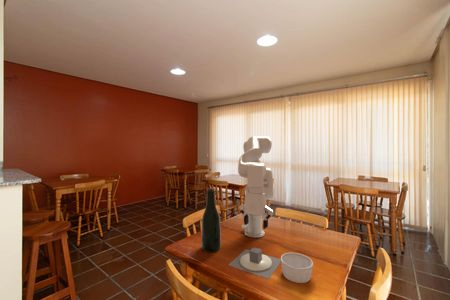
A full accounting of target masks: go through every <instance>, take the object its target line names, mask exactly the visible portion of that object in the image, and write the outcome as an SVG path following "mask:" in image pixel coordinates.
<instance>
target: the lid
mask: <svg viewBox="0 0 450 300" xmlns="http://www.w3.org/2000/svg"><path fill="white" fill-rule="evenodd" d="M266 255H267V254H263V249H261V248H258V247H255V246H254V247H252V248H251V249H250V253H248V254H245V255H243V256H242V257H241V258H240V264H241V265H242V266H243V267H244V268H245V269H248V270H251V271H265V270H267V269H269V268H270V267H271V266H272V261H271V259H270V258H269V257H268V256H269V255H268V256H266Z"/></svg>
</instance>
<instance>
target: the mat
mask: <svg viewBox="0 0 450 300" xmlns="http://www.w3.org/2000/svg"><path fill="white" fill-rule="evenodd" d="M250 250H251V249H250ZM250 250H249V249H244V250H243V251H242V252H241V253H240V254H238V256H236V257H235V258H234V259H233V260H232V261H231V262H230V263H228V266H229V267H233V268H235V269H238V270H241V271H244V272H247V273H249V274H250V273H251V274H252V275H255V276H259V277H261V278H265V279H267V280H269V279H271V276H272V275H273V274H274V272H275V271H276V270H277V269H278V267H279V265H281V258H278V257H274V256H270V255H267V254H265V255H266V256H268V257H269V258H270V259H271V261H272V266H271V267H270V268H269V269H267V270H265V271H251V270H248V269H245V268H244V267H243V266H242V265H241V264H240V258H241V257H242V256H243V255H245V254H248V253H250Z"/></svg>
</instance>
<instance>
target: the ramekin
mask: <svg viewBox="0 0 450 300" xmlns="http://www.w3.org/2000/svg"><path fill="white" fill-rule="evenodd" d="M280 259H281V262H280V265H281V272H282V275H283V276H284V278H286V279H287V280H288V281H291V282H294V283H297V284H306V283H308V282H309V281H310V280H311V278H312V274H313V273H312V271H313V268H314V262H313V260H312V259H311V258H310V257H309V256H307V255H305V254H302V253H298V252H285V253H283V254H282V255H281V257H280Z"/></svg>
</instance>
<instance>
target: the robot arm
mask: <svg viewBox="0 0 450 300" xmlns="http://www.w3.org/2000/svg"><path fill="white" fill-rule="evenodd" d="M272 146H273V144H272V140H271V138H270V137H269V136H266V135H265V136H263V135H262V136H259V135H258V136H257V135H256V136H255V135H254V136H250V137H248V139H247V140H246V141H244V142H243V146H242V147H243V148H242V149H243V152H244V153H243V154H241V155H240V156H239V159H238V165H237V171H238V172H237V173H238V176H240V177H242V178H246V179H247V182H246V183H247V185H246V186H245V187H244V191H245V195H244V203H243V204H240V205H239V206H238V208H239V210H240V213H241V215H242V217H243V223H244V224H241V229H243V230H244V235H245V236H247V237H249V238H255V239H256V238H257V239H258V238H262V237H264V236H265V231H264V230H265V229H267V228H268V227H269V219H270V218H271V217H272V216H273V214H274V210H273V209H271V208H270V207H269V206H267V201H268V200H272V199H273V197H274V178H273V171H272V169H271V168H269V167H267V166H266V164H265V163H264V162H261V160H260V159H261V158H262V156H263V154H269V153H270V152H271V150H272Z"/></svg>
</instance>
